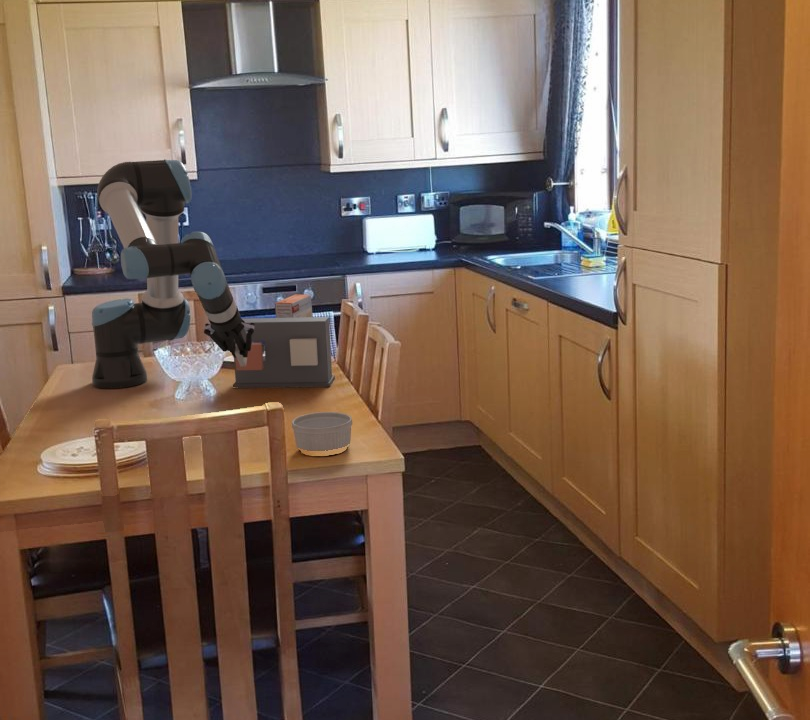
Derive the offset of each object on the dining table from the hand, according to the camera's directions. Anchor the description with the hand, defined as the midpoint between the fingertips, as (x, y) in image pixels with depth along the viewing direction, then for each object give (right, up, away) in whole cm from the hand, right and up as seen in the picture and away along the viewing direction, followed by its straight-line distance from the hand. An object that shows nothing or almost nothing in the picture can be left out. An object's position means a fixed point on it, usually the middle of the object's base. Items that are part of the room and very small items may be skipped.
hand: (243, 361), depth 263 cm
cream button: (+15, 0, +13) cm, 20 cm away
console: (+9, -6, +16) cm, 20 cm away
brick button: (+1, -1, +11) cm, 11 cm away
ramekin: (+24, -19, -42) cm, 52 cm away
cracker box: (+11, -2, +35) cm, 36 cm away
